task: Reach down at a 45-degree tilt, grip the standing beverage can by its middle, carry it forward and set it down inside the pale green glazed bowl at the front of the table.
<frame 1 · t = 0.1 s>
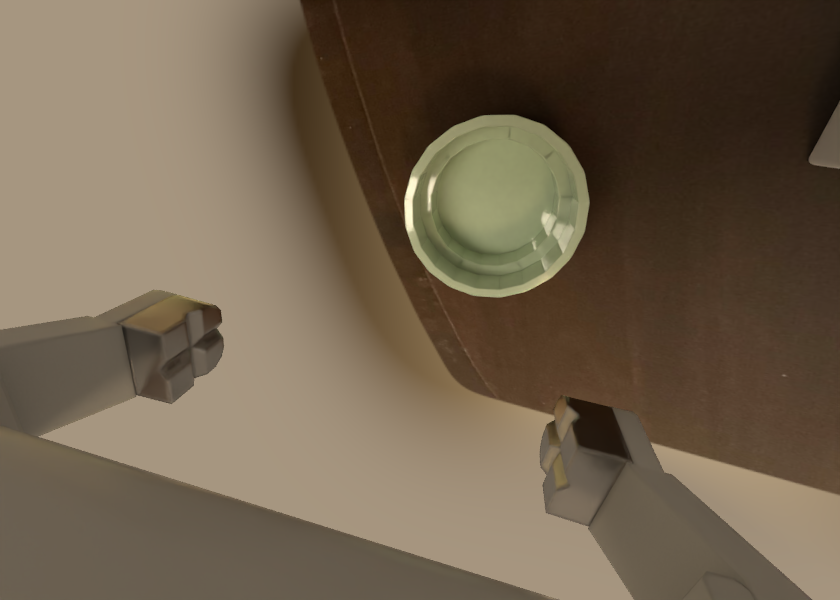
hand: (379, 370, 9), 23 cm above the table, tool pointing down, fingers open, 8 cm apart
bowl: (494, 198, 29), on the table
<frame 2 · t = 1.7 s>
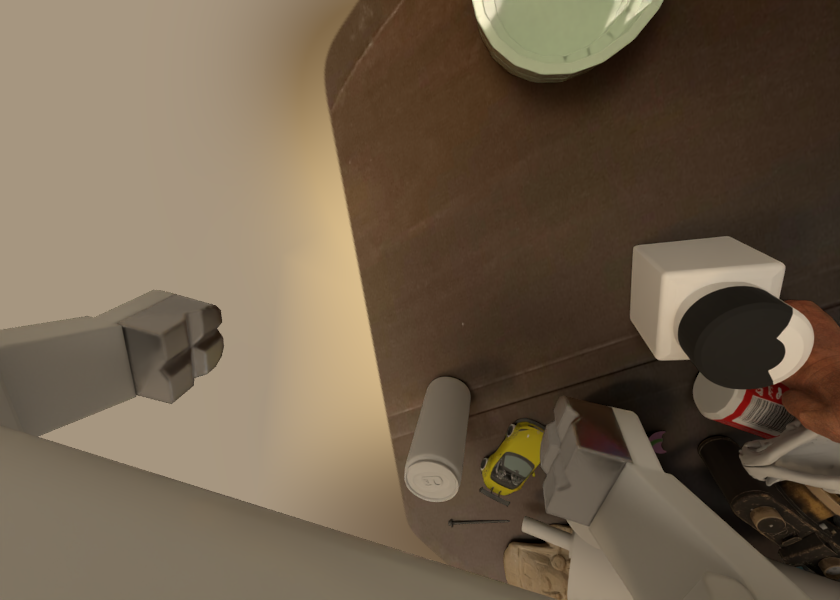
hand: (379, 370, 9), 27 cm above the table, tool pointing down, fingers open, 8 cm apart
monster figurine: (591, 474, 35), point 6 cm above the table, touching motor
soda can: (710, 385, 33), point 3 cm above the table, touching white crumpled lump
medicine bottle: (674, 278, 33), on the table, touching small clay pieces
figurine: (689, 598, 42), point 5 cm above the table, touching motor
motor: (702, 555, 39), point 4 cm above the table, touching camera, figurine, monster figurine
beverage can: (449, 390, 42), on the table
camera: (774, 476, 39), on the table, touching motor, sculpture
toy car: (514, 451, 44), on the table
screw: (477, 517, 50), on the table
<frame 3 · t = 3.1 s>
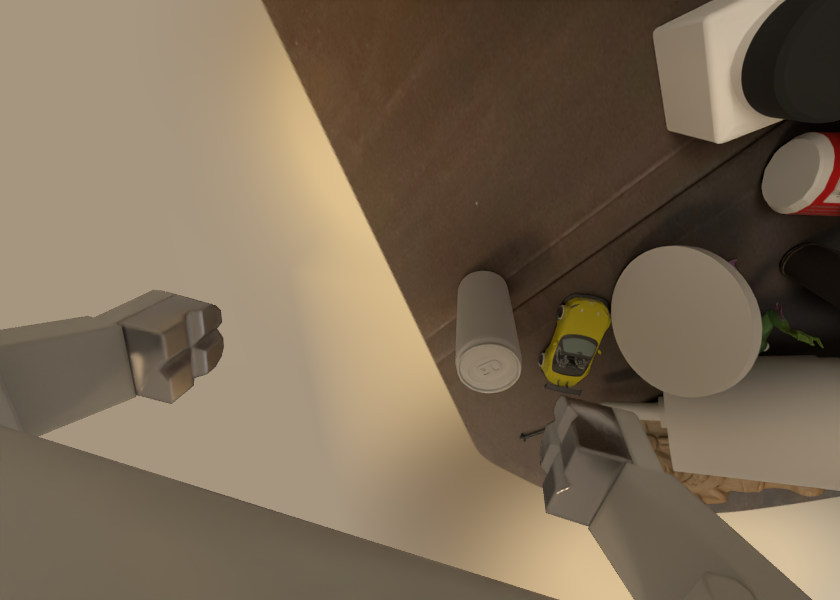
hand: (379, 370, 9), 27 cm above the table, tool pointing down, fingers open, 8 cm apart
monster figurine: (667, 321, 31), point 6 cm above the table, touching motor, toy car
soda can: (785, 174, 27), point 3 cm above the table, touching white crumpled lump
medicine bottle: (711, 59, 27), on the table, touching small clay pieces
figurine: (806, 438, 37), point 5 cm above the table, touching motor
motor: (812, 384, 34), point 4 cm above the table, touching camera, figurine, monster figurine
beverage can: (482, 288, 38), on the table
toy car: (571, 336, 39), on the table, touching monster figurine
screw: (549, 423, 46), on the table
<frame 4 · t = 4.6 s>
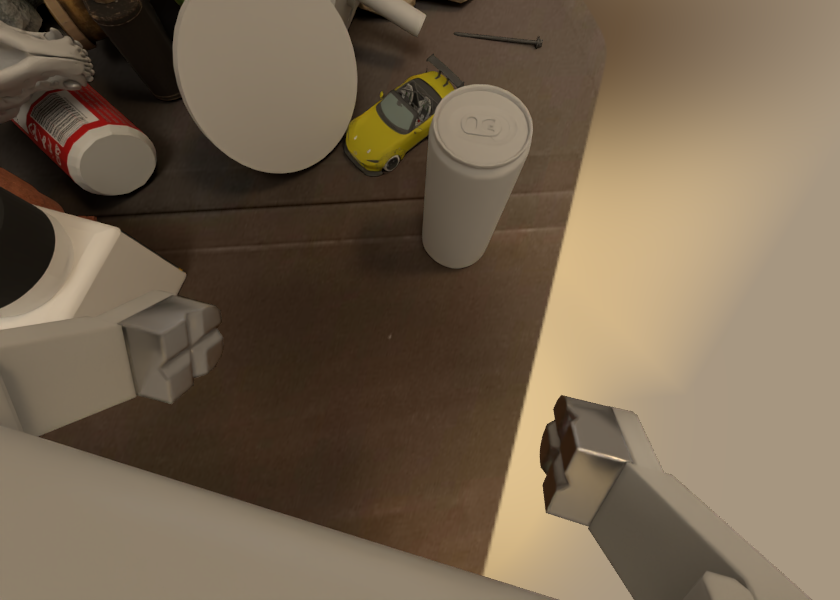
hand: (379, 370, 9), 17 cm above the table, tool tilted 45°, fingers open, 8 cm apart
monster figurine: (282, 82, 25), point 6 cm above the table, touching motor
soda can: (121, 167, 27), point 3 cm above the table, touching white crumpled lump
medicine bottle: (122, 307, 27), on the table, touching small clay pieces
beverage can: (453, 242, 29), on the table
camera: (133, 40, 34), on the table, touching motor, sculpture
toy car: (402, 131, 32), on the table
screw: (496, 45, 35), on the table
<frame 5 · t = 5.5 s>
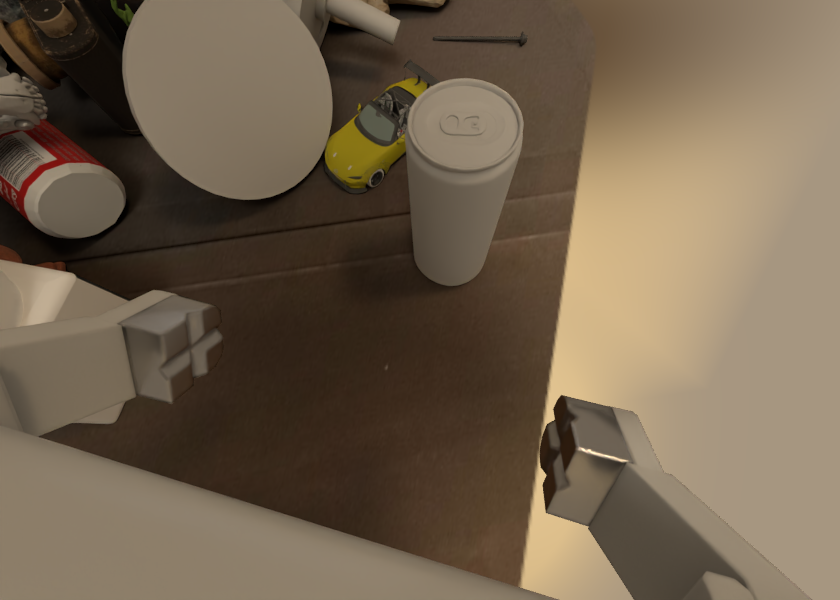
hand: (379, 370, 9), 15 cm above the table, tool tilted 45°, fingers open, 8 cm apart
monster figurine: (249, 102, 23), point 6 cm above the table, touching motor
soda can: (86, 207, 25), point 3 cm above the table, touching white crumpled lump
medicine bottle: (95, 357, 25), on the table, touching small clay pieces
beverage can: (448, 258, 26), on the table
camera: (101, 77, 32), on the table, touching motor, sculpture
toy car: (384, 143, 30), on the table
screw: (478, 46, 33), on the table
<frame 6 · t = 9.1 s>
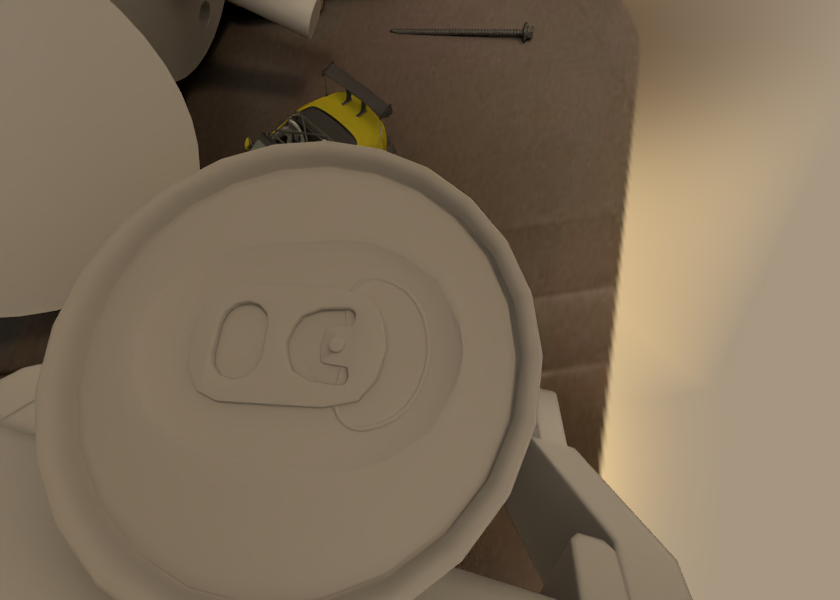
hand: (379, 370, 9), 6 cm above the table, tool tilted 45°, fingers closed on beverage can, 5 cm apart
beverage can: (396, 413, 15), on the table, touching gripper
toy car: (300, 199, 18), on the table
screw: (458, 43, 21), on the table
when the fingers open (7 cm above the table, at t = 22.5 s): beverage can stays where it is, resting on bowl.
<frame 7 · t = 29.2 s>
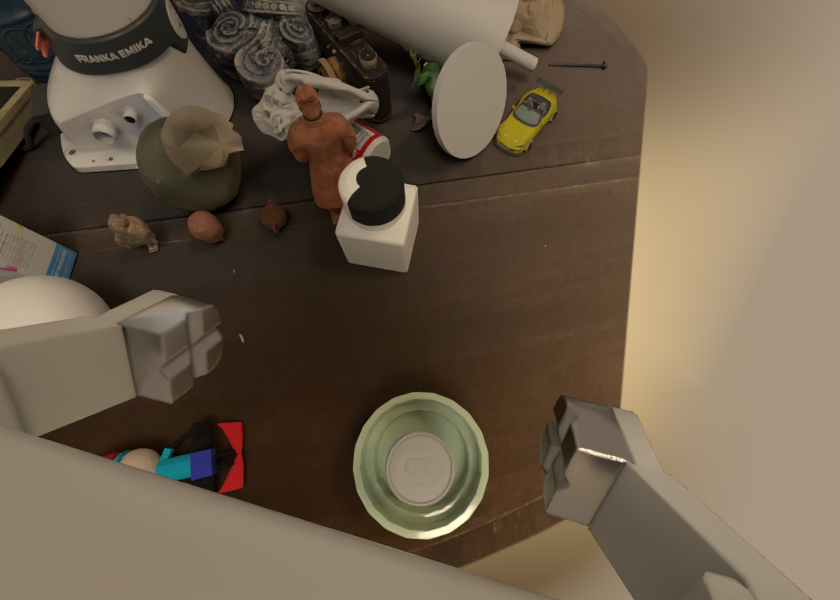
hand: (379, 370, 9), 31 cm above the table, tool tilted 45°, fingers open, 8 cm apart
monster figurine: (475, 104, 44), point 6 cm above the table, touching motor
soda can: (379, 161, 46), point 3 cm above the table, touching white crumpled lump
canister: (69, 53, 57), on the table
ornament: (91, 342, 42), on the table
white crumpled lump: (263, 111, 37), point 11 cm above the table, touching soda can, small clay pieces
medicine bottle: (384, 242, 46), on the table, touching small clay pieces
motor: (405, 31, 51), point 4 cm above the table, touching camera, figurine, monster figurine
beverage can: (422, 457, 37), resting on bowl
ink box: (39, 270, 45), on the table
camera: (346, 88, 53), on the table, touching motor, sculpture
toy car: (524, 127, 51), on the table
screw: (577, 69, 54), on the table
toy figure: (171, 471, 38), on the table
box: (8, 146, 51), on the table
bowl: (421, 457, 37), on the table
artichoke: (138, 174, 39), point 8 cm above the table
small clay pieces: (258, 229, 46), on the table, touching white crumpled lump, medicine bottle
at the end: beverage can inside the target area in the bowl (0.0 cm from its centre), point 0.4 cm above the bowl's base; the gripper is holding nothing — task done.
